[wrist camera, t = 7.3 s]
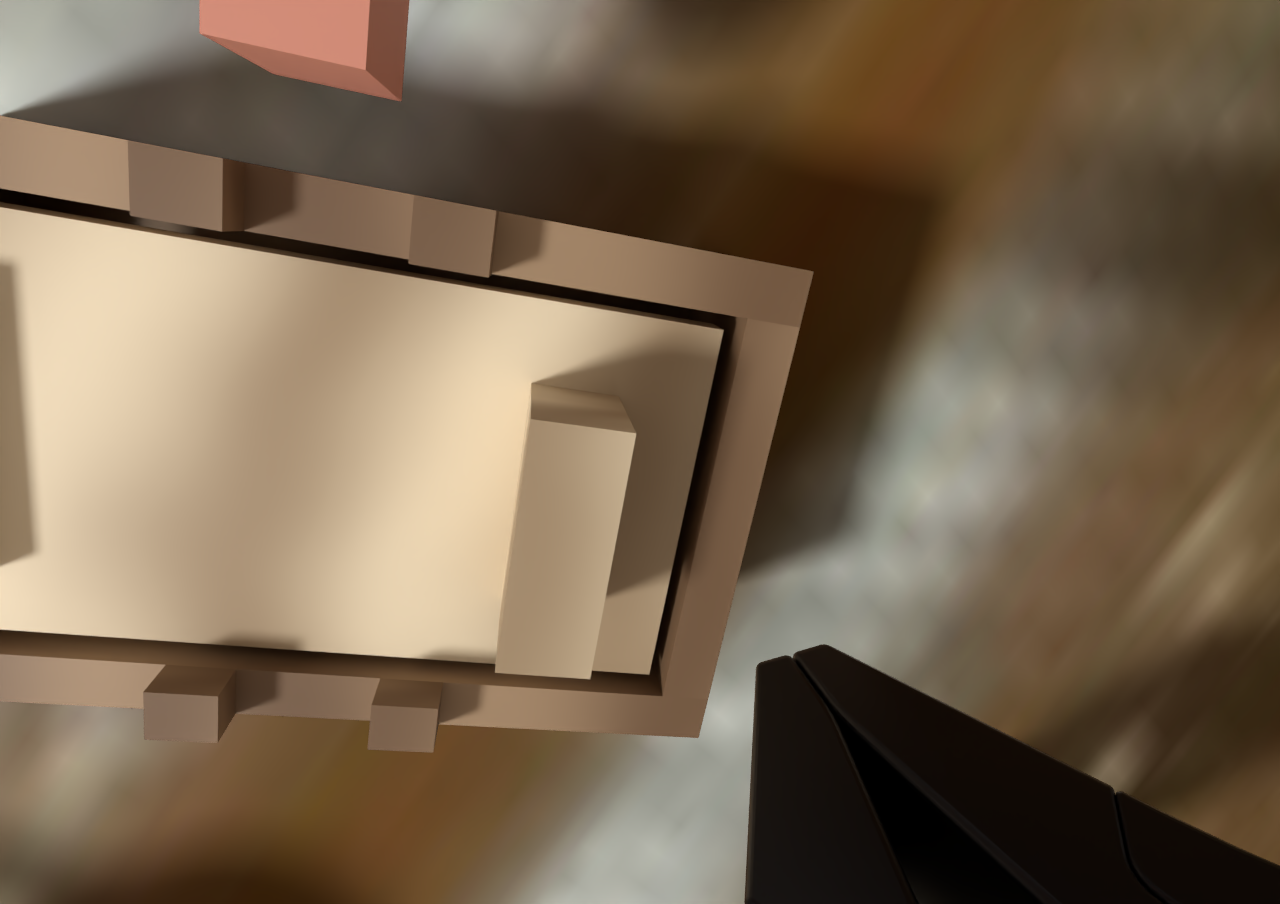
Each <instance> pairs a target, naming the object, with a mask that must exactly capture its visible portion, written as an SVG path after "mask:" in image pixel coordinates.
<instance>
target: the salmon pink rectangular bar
mask: <svg viewBox="0 0 1280 904" xmlns="http://www.w3.org/2000/svg"><path fill="white" fill-rule="evenodd" d="M408 10H409V0H200V34H202V35H204V36H206V37H207V38H209V39H211V40H213V41H215V42H216V43H218V44H220V45H222V46H224V47H225V48H227V49H229V50H231V51H233V52H234V53H236V54H238V55H240V56H242V57H243V58H245V59H247V60H249V61H251V62H252V63H254V64H256V65H258V66H260V67H261V68H263V69H265V70H267V71H269V72H270V73H272V74H275V75H280V76H285V77H289V78H294V79H299V80H303V81H308V82H312V83H317V84H322V85H326V86H331V87H336V88H340V89H345V90H350V91H354V92H359V93H364V94H368V95H373V96H377V97H382V98H387V99H391V100H396V101H401V102H402V89H403V76H404V62H405V49H406V36H407V23H408Z"/></svg>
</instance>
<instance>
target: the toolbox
mask: <svg viewBox="0 0 1280 904" xmlns="http://www.w3.org/2000/svg"><path fill="white" fill-rule="evenodd" d="M0 202H4V203H10V204H16V205H22V206H27V207H33V208H39V209H45V210H51V211H57V212H62V213H68V214H74V215H80V216H86V217H92V218H98V219H103V220H109V221H115V222H121V223H127V224H133V225H139V226H144V227H150V228H156V229H162V230H168V231H174V232H179V233H185V234H191V235H197V236H203V237H209V238H215V239H220V240H226V241H232V242H238V243H244V244H250V245H255V246H261V247H267V248H273V249H279V250H285V251H291V252H296V253H302V254H308V255H314V256H320V257H326V258H331V259H337V260H343V261H349V262H355V263H361V264H367V265H372V266H378V267H384V268H390V269H396V270H402V271H407V272H413V273H419V274H425V275H431V276H437V277H443V278H448V279H454V280H460V281H466V282H472V283H478V284H483V285H489V286H495V287H501V288H507V289H513V290H519V291H524V292H530V293H536V294H542V295H548V296H554V297H559V298H565V299H571V300H577V301H583V302H589V303H595V304H600V305H606V306H612V307H618V308H624V309H630V310H636V311H641V312H647V313H653V314H659V315H665V316H671V317H676V318H682V319H688V320H694V321H700V322H706V323H712V324H714V325H716V326H718V327H719V328H721V329H723V330H724V331H723V336H722V340H721V345H720V350H719V354H718V359H717V363H716V368H715V373H714V377H713V382H712V386H711V391H710V396H709V400H708V405H707V410H706V414H705V419H704V423H703V428H702V433H701V437H700V442H699V447H698V451H697V456H696V460H695V465H694V470H693V474H692V479H691V484H690V488H689V493H688V497H687V502H686V507H685V511H684V516H683V521H682V525H681V530H680V534H679V539H678V544H677V548H676V553H675V558H674V562H673V567H672V571H671V576H670V581H669V585H668V590H667V595H666V599H665V604H664V608H663V613H662V618H661V622H660V627H659V632H658V636H657V641H656V645H655V650H654V655H653V659H652V664H651V669H650V673H649V675H648V674H634V673H619V672H605V671H592V672H591V677H590V679H579V678H564V677H549V676H534V675H519V674H504V673H495V664H490V663H475V662H461V661H447V660H432V659H418V658H403V657H389V656H375V655H360V654H346V653H331V652H317V651H303V650H288V649H274V648H259V647H245V646H231V645H216V644H202V643H188V642H173V641H159V640H144V639H130V638H116V637H101V636H87V635H72V634H58V633H44V632H29V631H15V630H0V701H6V702H25V703H45V704H64V705H83V706H102V707H121V708H140V709H144V739H145V740H167V741H189V742H212V743H218V741H219V740H220V738H221V736H222V735H223V733H224V731H225V730H226V728H227V726H228V725H229V723H230V722H231V720H232V718H233V717H234V715H235V714H254V715H273V716H292V717H311V718H330V719H349V720H368V721H370V728H369V740H368V750H390V751H412V752H433V751H434V745H435V740H436V735H437V729H438V724H445V725H464V726H483V727H502V728H521V729H540V730H559V731H578V732H597V733H616V734H635V735H654V736H673V737H692V738H698V737H699V733H700V729H701V725H702V721H703V717H704V713H705V709H706V705H707V701H708V697H709V693H710V689H711V685H712V681H713V677H714V672H715V668H716V664H717V660H718V656H719V652H720V648H721V644H722V640H723V636H724V632H725V628H726V624H727V620H728V616H729V612H730V608H731V604H732V600H733V596H734V592H735V588H736V584H737V580H738V576H739V571H740V567H741V563H742V559H743V555H744V551H745V547H746V543H747V539H748V535H749V531H750V527H751V523H752V519H753V515H754V511H755V507H756V503H757V499H758V495H759V491H760V487H761V483H762V479H763V475H764V470H765V466H766V462H767V458H768V454H769V450H770V446H771V442H772V438H773V434H774V430H775V426H776V422H777V418H778V414H779V410H780V406H781V402H782V398H783V394H784V390H785V386H786V382H787V378H788V374H789V369H790V365H791V361H792V357H793V353H794V349H795V345H796V341H797V337H798V333H799V329H800V325H801V321H802V317H803V313H804V309H805V305H806V301H807V297H808V293H809V289H810V285H811V281H812V277H813V273H814V271H809V270H803V269H798V268H793V267H788V266H783V265H777V264H772V263H767V262H762V261H756V260H751V259H746V258H741V257H736V256H730V255H725V254H720V253H715V252H709V251H704V250H699V249H694V248H689V247H683V246H678V245H673V244H668V243H662V242H657V241H652V240H647V239H642V238H636V237H631V236H626V235H621V234H615V233H610V232H605V231H600V230H595V229H589V228H584V227H579V226H574V225H568V224H563V223H558V222H553V221H548V220H542V219H537V218H532V217H527V216H521V215H516V214H511V213H506V212H501V211H496V210H490V209H485V208H480V207H475V206H469V205H464V204H459V203H454V202H448V201H443V200H438V199H433V198H428V197H422V196H417V195H412V194H407V193H401V192H396V191H391V190H386V189H380V188H375V187H370V186H365V185H360V184H354V183H349V182H344V181H339V180H333V179H328V178H323V177H318V176H313V175H307V174H302V173H297V172H292V171H286V170H281V169H276V168H271V167H266V166H260V165H255V164H250V163H245V162H239V161H234V160H229V159H224V158H219V157H213V156H208V155H203V154H198V153H193V152H187V151H182V150H177V149H172V148H166V147H161V146H156V145H151V144H146V143H140V142H135V141H130V140H124V139H119V138H114V137H109V136H104V135H98V134H93V133H88V132H83V131H77V130H72V129H67V128H62V127H57V126H51V125H46V124H41V123H36V122H30V121H25V120H20V119H15V118H10V117H4V116H0Z"/></svg>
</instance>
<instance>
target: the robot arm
mask: <svg viewBox="0 0 1280 904" xmlns="http://www.w3.org/2000/svg"><path fill="white" fill-rule="evenodd" d="M745 904H1280V866H1279V865H1277V864H1275V863H1273V862H1270V861H1268V860H1266V859H1263V858H1261V857H1259V856H1256V855H1254V854H1252V853H1249V852H1247V851H1245V850H1243V849H1240V848H1238V847H1236V846H1234V845H1232V844H1230V843H1227V842H1225V841H1223V840H1221V839H1219V838H1217V837H1215V836H1213V835H1211V834H1209V833H1206V832H1204V831H1202V830H1200V829H1198V828H1196V827H1194V826H1192V825H1190V824H1187V823H1185V822H1183V821H1181V820H1179V819H1177V818H1175V817H1173V816H1171V815H1169V814H1166V813H1164V812H1162V811H1160V810H1158V809H1156V808H1154V807H1152V806H1150V805H1148V804H1146V803H1144V802H1142V801H1140V800H1138V799H1136V798H1134V797H1132V796H1130V795H1128V794H1126V793H1124V792H1121V791H1119V792H1117V793H1116V794H1115V793H1114V790H1113V788H1112V787H1111V786H1110V785H1108V784H1106V783H1104V782H1102V781H1100V780H1098V779H1096V778H1094V777H1092V776H1090V775H1088V774H1086V773H1084V772H1082V771H1080V770H1078V769H1076V768H1074V767H1072V766H1070V765H1068V764H1066V763H1064V762H1062V761H1060V760H1058V759H1056V758H1054V757H1052V756H1050V755H1048V754H1046V753H1044V752H1042V751H1040V750H1038V749H1036V748H1033V747H1031V746H1029V745H1027V744H1025V743H1023V742H1021V741H1019V740H1017V739H1015V738H1013V737H1011V736H1009V735H1007V734H1005V733H1003V732H1001V731H999V730H997V729H995V728H993V727H991V726H989V725H987V724H985V723H983V722H981V721H979V720H977V719H975V718H973V717H971V716H969V715H967V714H965V713H963V712H961V711H959V710H957V709H955V708H953V707H951V706H949V705H947V704H945V703H943V702H941V701H939V700H937V699H935V698H933V697H931V696H929V695H927V694H925V693H923V692H921V691H919V690H917V689H915V688H913V687H911V686H909V685H907V684H905V683H903V682H901V681H899V680H897V679H895V678H893V677H891V676H889V675H887V674H885V673H883V672H881V671H879V670H877V669H875V668H873V667H871V666H869V665H867V664H865V663H863V662H861V661H859V660H857V659H855V658H853V657H851V656H849V655H847V654H845V653H843V652H841V651H839V650H837V649H835V648H833V647H831V646H829V645H819V646H815V647H812V648H808V649H805V650H802V651H798V652H796V653H795V654H794V656H793V658H791V657H790V656H787V655H786V656H781V657H778V658H774V659H771V660H767V661H764V662H761V663H759V664H758V665H757V667H756V682H755V702H754V723H753V743H752V763H751V783H750V804H749V824H748V844H747V865H746V885H745Z"/></svg>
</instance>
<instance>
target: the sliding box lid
mask: <svg viewBox="0 0 1280 904" xmlns="http://www.w3.org/2000/svg"><path fill="white" fill-rule="evenodd" d="M723 331H724V330H723V329H721V328H719V327H718V326H716V325H714V324H712V323H706V322H700V321H694V320H688V319H682V318H676V317H671V316H665V315H659V314H653V313H647V312H641V311H636V310H630V309H624V308H618V307H612V306H606V305H600V304H595V303H589V302H583V301H577V300H571V299H565V298H559V297H554V296H548V295H542V294H536V293H530V292H524V291H519V290H513V289H507V288H501V287H495V286H489V285H483V284H478V283H472V282H466V281H460V280H454V279H448V278H443V277H437V276H431V275H425V274H419V273H413V272H407V271H402V270H396V269H390V268H384V267H378V266H372V265H367V264H361V263H355V262H349V261H343V260H337V259H331V258H326V257H320V256H314V255H308V254H302V253H296V252H291V251H285V250H279V249H273V248H267V247H261V246H255V245H250V244H244V243H238V242H232V241H226V240H220V239H215V238H209V237H203V236H197V235H191V234H185V233H179V232H174V231H168V230H162V229H156V228H150V227H144V226H139V225H133V224H127V223H121V222H115V221H109V220H103V219H98V218H92V217H86V216H80V215H74V214H68V213H62V212H57V211H51V210H45V209H39V208H33V207H27V206H22V205H16V204H10V203H4V202H0V630H15V631H29V632H44V633H58V634H72V635H87V636H101V637H116V638H130V639H144V640H159V641H173V642H188V643H202V644H216V645H231V646H245V647H259V648H274V649H288V650H303V651H317V652H331V653H346V654H360V655H375V656H389V657H403V658H418V659H432V660H447V661H461V662H475V663H490V664H495V673H504V674H519V675H534V676H549V677H564V678H579V679H590V677H591V672H592V671H605V672H619V673H634V674H648V675H649V673H650V669H651V664H652V659H653V655H654V650H655V645H656V641H657V636H658V632H659V627H660V622H661V618H662V613H663V608H664V604H665V599H666V595H667V590H668V585H669V581H670V576H671V571H672V567H673V562H674V558H675V553H676V548H677V544H678V539H679V534H680V530H681V525H682V521H683V516H684V511H685V507H686V502H687V497H688V493H689V488H690V484H691V479H692V474H693V470H694V465H695V460H696V456H697V451H698V447H699V442H700V437H701V433H702V428H703V423H704V419H705V414H706V410H707V405H708V400H709V396H710V391H711V386H712V382H713V377H714V373H715V368H716V363H717V359H718V354H719V350H720V345H721V340H722V336H723Z"/></svg>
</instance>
